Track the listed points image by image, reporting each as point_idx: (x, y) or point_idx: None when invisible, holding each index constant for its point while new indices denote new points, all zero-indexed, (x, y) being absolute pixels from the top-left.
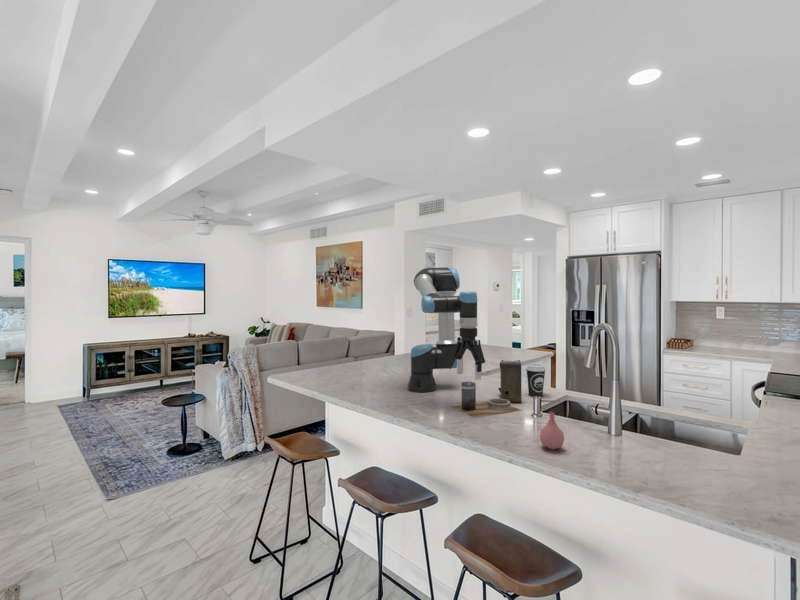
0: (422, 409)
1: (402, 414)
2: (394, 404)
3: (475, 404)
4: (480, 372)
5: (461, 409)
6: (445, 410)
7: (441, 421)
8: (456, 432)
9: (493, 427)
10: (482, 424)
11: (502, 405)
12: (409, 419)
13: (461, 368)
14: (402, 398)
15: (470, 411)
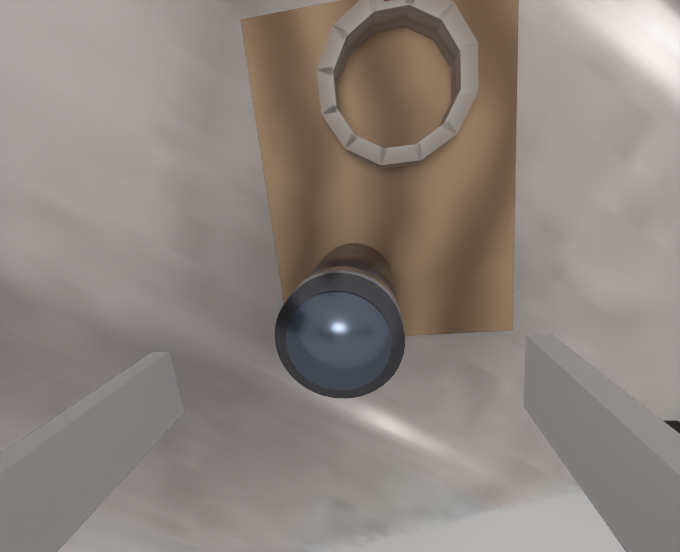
0: (248, 438)
1: (289, 525)
2: (153, 500)
3: (380, 257)
4: (616, 399)
5: None
6: None
7: (431, 444)
8: None
9: (621, 287)
10: (555, 311)
11: (472, 100)
12: (357, 529)
13: (126, 410)
14: None
15: (403, 296)
